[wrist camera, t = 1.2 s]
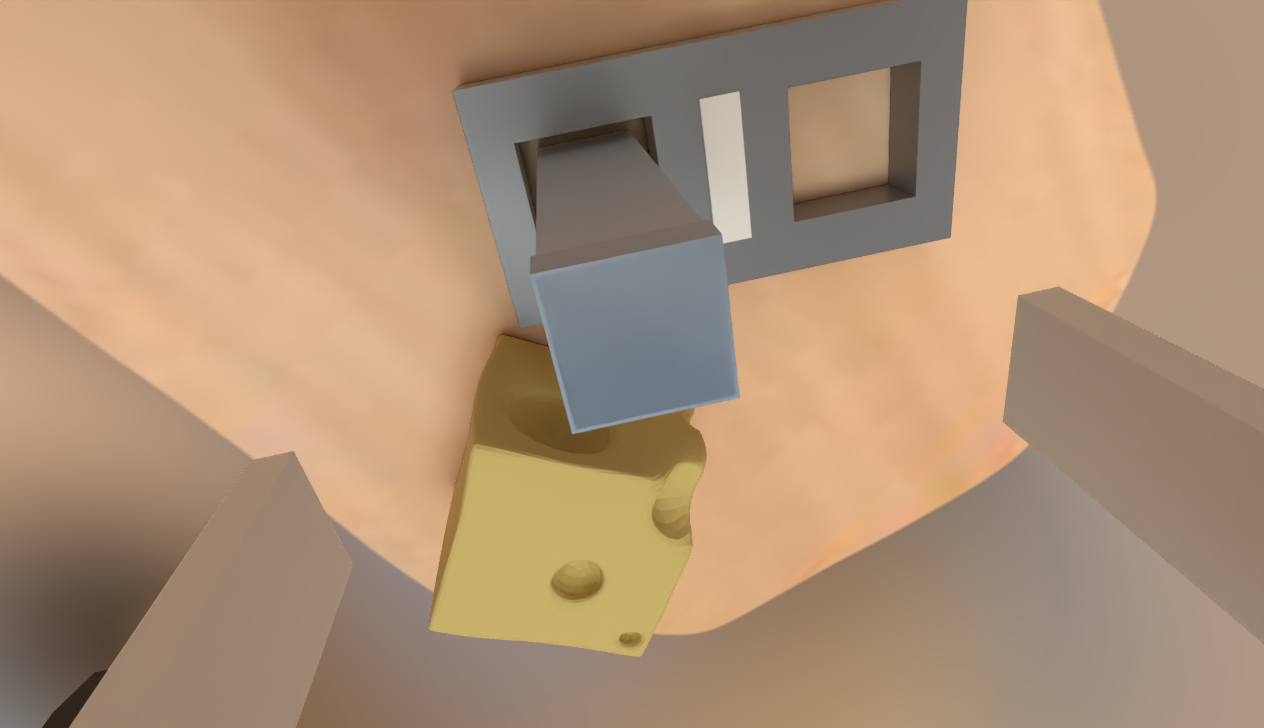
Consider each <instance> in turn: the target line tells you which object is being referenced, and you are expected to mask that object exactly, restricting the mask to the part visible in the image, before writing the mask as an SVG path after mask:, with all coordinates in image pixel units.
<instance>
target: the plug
mask: <svg viewBox="0 0 1264 728" xmlns="http://www.w3.org/2000/svg"><path fill="white" fill-rule="evenodd" d="M530 278H531V281H532V285H533V289H534V293H535V296H536V300H537V304H538V308H539V311H540V315H541V319H542V323H543V326H544V330H545V334H546V338H547V341H548V345H549V349H550V353H551V356H552V360H553V364H554V368H555V371H556V375H557V379H558V383H559V386H560V390H561V394H562V398H563V401H564V405H565V409H566V413H567V416H568V420H569V424H570V428H571V431H572V434H575V433H580V432H585V431H589V430H594V429H598V428H603V427H608V426H612V425H617V424H621V423H626V422H631V421H635V420H640V419H644V418H649V417H654V416H658V415H663V414H667V413H672V412H677V411H681V410H686V409H690V408H695V407H700V406H704V405H709V404H713V403H718V402H723V401H727V400H732V399H736V398H740V395H739V386H738V377H737V367H736V358H735V349H734V340H733V330H732V321H731V312H730V303H729V293H728V284H727V275H726V265H725V256H724V247H723V238H722V233H721V232H720V231H719V230H718V229H717V228H716V226H715V225H714V224H713V223H712V222H711V221H710V219H707V220H703V221H702V219H701V218H700V217H699V216H698V214H697V213H696V212H695V211H694V210H693V208H692V207H691V206H690V205H689V203H688V202H687V201H686V200H685V199H684V197H683V196H682V195H681V194H680V192H679V191H678V190H677V189H676V188H675V186H674V185H673V184H672V183H671V181H670V180H669V179H668V178H667V177H666V175H665V174H664V173H663V172H662V170H661V169H660V168H659V167H658V165H657V164H656V163H655V162H654V161H653V159H652V158H651V157H650V156H649V154H648V153H647V152H646V151H645V150H644V148H643V147H642V146H641V145H640V143H639V142H638V141H637V140H636V139H635V137H634V136H633V135H632V134H631V132H630V131H629V130H625V131H620V132H615V133H610V134H605V135H600V136H595V137H590V138H585V139H581V140H576V141H571V142H566V143H561V144H556V145H551V146H546V147H541V148H537V211H536V255H535V256H530Z"/></svg>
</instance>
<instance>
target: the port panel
mask: <svg viewBox="0 0 1264 728" xmlns="http://www.w3.org/2000/svg"><path fill="white" fill-rule="evenodd" d="M966 13H967V0H883V1H878V2H873V3H868V4H863V5H858V6H853V7H848V8H843V9H838V10H833V11H828V12H823V13H818V14H813V15H808V16H803V17H798V18H793V19H788V20H783V21H778V22H773V23H768V24H763V25H758V26H753V27H748V28H743V29H738V30H733V31H728V32H723V33H718V34H713V35H708V36H703V37H698V38H693V39H688V40H683V41H678V42H673V43H668V44H663V45H658V46H653V47H648V48H643V49H638V50H633V51H628V52H623V53H618V54H613V55H608V56H603V57H598V58H593V59H589V60H584V61H579V62H574V63H569V64H564V65H559V66H554V67H549V68H544V69H539V70H534V71H529V72H524V73H519V74H514V75H509V76H504V77H499V78H494V79H489V80H484V81H479V82H474V83H469V84H464V85H459V86H458V87H457V88H456V89H454V90H453V91H452V93H453V96H454V100H455V103H456V107H457V110H458V114H459V117H460V121H461V124H462V128H463V131H464V135H465V138H466V142H467V145H468V149H469V152H470V155H471V159H472V162H473V166H474V169H475V173H476V176H477V180H478V183H479V187H480V190H481V194H482V197H483V201H484V204H485V208H486V211H487V215H488V218H489V222H490V225H491V229H492V232H493V236H494V239H495V243H496V246H497V250H498V253H499V257H500V260H501V264H502V267H503V271H504V274H505V278H506V281H507V285H508V288H509V291H510V295H511V298H512V302H513V305H514V309H515V312H516V316H517V319H518V323H519V326H520V329H522V328H527V327H531V326H536V325H541V324H543V323H542V319H541V315H540V311H539V308H538V304H537V300H536V296H535V293H534V289H533V285H532V281H531V278H530V256H535V255H536V213H535V209H534V205H533V201H532V197H531V193H530V188H529V184H528V180H527V176H526V172H525V168H524V164H523V160H522V156H521V152H520V148H519V144H518V143H519V142H524V141H529V140H534V139H539V138H544V137H549V136H554V135H559V134H564V133H569V132H573V131H578V130H583V129H588V128H593V127H598V126H603V125H608V124H613V123H618V122H623V121H627V120H632V119H637V118H642V117H644V121H645V128H646V134H647V141H648V147H649V154H650V157H651V158H652V159H653V161H654V162H655V163H656V164H657V165H658V167H659V168H660V169H661V170H662V172H663V173H664V174H665V175H666V177H667V178H668V179H669V180H670V181H671V183H672V184H673V185H674V186H675V188H676V189H677V190H678V191H679V192H680V194H681V195H682V196H683V197H684V199H685V200H686V201H687V202H688V203H689V205H690V206H691V207H692V208H693V210H694V211H695V212H696V213H697V214H698V216H699V217H700V218H701V219H702V221H703V220H707V219H710V221H711V222H712V223H713V224H714V225H715V226H716V228H717V229H718V230H719V231H720V232H721V233H722V238H723V247H724V256H725V265H726V275H727V284H728V285H729V284H734V283H739V282H743V281H748V280H753V279H758V278H762V277H767V276H772V275H776V274H781V273H786V272H791V271H795V270H800V269H805V268H809V267H814V266H819V265H824V264H828V263H833V262H838V261H842V260H847V259H852V258H857V257H861V256H866V255H871V254H875V253H880V252H885V251H890V250H894V249H899V248H904V247H908V246H913V245H918V244H923V243H927V242H932V241H937V240H941V239H946V238H951V226H952V212H953V197H954V183H955V169H956V155H957V141H958V127H959V112H960V98H961V84H962V70H963V56H964V42H965V27H966ZM888 67H891V98H890V145H889V184H887V185H882V186H878V187H873V188H868V189H863V190H858V191H854V192H849V193H844V194H839V195H834V196H830V197H825V198H820V199H815V200H811V201H806V202H801V203H796V204H793V191H792V171H791V152H790V132H789V113H788V93H787V88H789V87H794V86H799V85H804V84H809V83H814V82H819V81H824V80H829V79H834V78H839V77H843V76H848V75H853V74H858V73H863V72H868V71H873V70H878V69H883V68H888Z"/></svg>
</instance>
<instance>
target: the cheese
mask: <svg viewBox="0 0 1264 728" xmlns="http://www.w3.org/2000/svg"><path fill="white" fill-rule="evenodd" d="M693 413H694V408H690V409H686V410H681V411H677V412H672V413H667V414H663V415H658V416H654V417H649V418H644V419H640V420H635V421H631V422H626V423H621V424H617V425H612V426H608V427H603V428H598V429H594V430H589V431H585V432H580V433H575V434H572V431H571V428H570V424H569V420H568V416H567V413H566V409H565V405H564V401H563V398H562V394H561V390H560V386H559V383H558V379H557V375H556V371H555V368H554V364H553V360H552V356H551V353H550V349H549V347H547V346H543V345H540V344H536V343H532V342H529V341H525V340H522V339H518V338H514V337H510V336H505V335H500V336H499V337H498V338H497V341H496V344H495V347H494V350H493V352H492V354H491V356H490V358H489V360H488V362H487V364H486V366H485V368H484V370H483V372H482V375H481V377H480V380H479V383H478V386H477V390H476V395H475V400H474V406H473V412H472V418H471V427H470V433H469V437H468V441H467V445H466V449H465V453H464V456H463V460H462V464H461V467H460V471H459V474H458V477H457V481H456V484H455V487H454V492H453V497H452V501H451V506H450V511H449V515H448V520H447V525H446V530H445V535H444V540H443V546H442V551H441V556H440V561H439V567H438V572H437V578H436V583H435V589H434V594H433V600H432V606H431V613H430V620H429V629H430V630H431V631H436V632H443V633H448V634H453V635H461V636H470V637H479V638H491V639H503V640H517V641H529V642H540V643H548V644H557V645H565V646H572V647H579V648H587V649H593V650H599V651H605V652H610V653H616V654H622V655H629V656H636V657H640V656H641V655H642V654H643V652H644V651H645V649H646V647H647V645H648V643H649V640H650V639H651V637H652V635H653V633H654V630H655V628H656V626H657V624H658V622H659V621H660V619H661V617H662V615H663V613H664V611H665V608H666V606H667V604H668V602H669V600H670V597H671V595H672V593H673V591H674V589H675V586H676V584H677V582H678V580H679V578H680V576H681V574H682V572H683V570H684V568H685V565H686V563H687V561H688V559H689V556H690V553H691V549H692V546H693V544H692V532H691V526H690V503H691V498H692V494H693V492H694V489H695V487H696V485H697V483H698V481H699V479H700V477H701V475H702V473H703V470H704V467H705V463H706V447H705V444H704V440H703V438H702V435H701V433H700V431H699V430H697V429H695V428H694V427H692V426H691V425H690V420H691V417H692V415H693Z"/></svg>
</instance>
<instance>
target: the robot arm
mask: <svg viewBox="0 0 1264 728" xmlns="http://www.w3.org/2000/svg"><path fill="white" fill-rule="evenodd" d="M1003 422H1004V423H1005V424H1006V425H1007V426H1008V427H1010V428H1011V429H1012V430H1013V431H1014V432H1015V433H1017V434H1018V435H1019V436H1020V437H1021V438H1023V439H1024V440H1025V441H1026V442H1027V443H1028V444H1030V445H1031V446H1032V447H1033V448H1034V449H1036V450H1037V451H1038V452H1039V453H1040V454H1041V455H1042V456H1044V457H1045V458H1046V459H1047V460H1048V461H1049V462H1051V463H1052V464H1053V465H1054V466H1055V467H1057V468H1058V469H1059V470H1060V471H1061V472H1062V473H1064V474H1065V475H1066V476H1067V477H1068V478H1069V479H1071V480H1072V481H1073V482H1074V483H1075V484H1077V485H1078V486H1079V487H1080V488H1081V489H1083V490H1084V491H1085V492H1086V493H1087V494H1088V495H1089V496H1091V497H1092V498H1093V499H1094V500H1095V501H1096V502H1098V503H1099V504H1100V505H1101V506H1103V508H1105V509H1106V510H1107V511H1108V512H1109V513H1111V514H1112V515H1113V516H1114V517H1115V518H1116V519H1118V520H1119V521H1120V522H1121V523H1122V524H1124V525H1125V526H1126V527H1127V528H1128V529H1129V530H1130V531H1132V532H1133V533H1134V534H1135V535H1136V536H1138V537H1139V538H1140V539H1141V540H1142V541H1143V542H1145V543H1146V544H1147V545H1148V546H1149V547H1151V548H1152V549H1153V550H1154V551H1155V552H1156V553H1158V554H1159V555H1160V556H1161V557H1162V558H1163V559H1165V560H1166V561H1167V562H1168V563H1169V564H1170V565H1172V566H1173V567H1174V568H1175V569H1176V570H1177V571H1179V572H1180V573H1181V574H1182V575H1183V576H1184V577H1186V578H1187V579H1188V580H1189V581H1190V582H1192V583H1193V584H1194V585H1195V586H1196V587H1197V588H1199V589H1200V590H1201V591H1202V592H1203V593H1205V594H1206V595H1207V596H1208V597H1209V598H1210V599H1212V600H1213V601H1214V602H1215V603H1216V604H1217V605H1219V606H1220V607H1221V608H1222V609H1223V610H1224V611H1226V612H1227V613H1228V614H1229V615H1230V616H1231V617H1233V618H1234V619H1235V620H1236V621H1237V622H1238V623H1240V624H1241V625H1242V626H1243V627H1244V628H1246V629H1247V630H1248V631H1249V632H1250V633H1251V634H1253V635H1254V636H1255V637H1256V638H1257V639H1258V640H1260V641H1261V642H1262V643H1263V644H1264V389H1263V388H1261V387H1259V386H1257V385H1255V384H1253V383H1251V382H1249V381H1247V380H1245V379H1243V378H1241V377H1239V376H1237V375H1235V374H1233V373H1231V372H1229V371H1227V370H1225V369H1223V368H1221V367H1219V366H1217V365H1215V364H1213V363H1211V362H1209V361H1207V360H1205V359H1203V358H1201V357H1199V356H1197V355H1195V354H1193V353H1191V352H1189V351H1187V350H1184V349H1183V348H1181V347H1179V346H1177V345H1175V344H1173V343H1171V342H1169V341H1167V340H1165V339H1163V338H1161V337H1158V336H1157V335H1154V334H1153V333H1151V332H1149V331H1147V330H1145V329H1143V328H1141V327H1139V326H1137V325H1135V324H1133V323H1131V322H1129V321H1127V320H1125V319H1123V318H1121V317H1119V316H1117V315H1115V314H1113V313H1111V312H1109V311H1107V310H1105V309H1103V308H1101V307H1099V306H1097V305H1095V304H1093V303H1091V302H1089V301H1087V300H1085V299H1083V298H1081V297H1079V296H1077V295H1075V294H1073V293H1071V292H1069V291H1066V290H1064V289H1062V288H1060V287H1056V288H1051V289H1046V290H1042V291H1037V292H1032V293H1028V294H1023V295H1018V301H1017V309H1016V317H1015V325H1014V334H1013V342H1012V350H1011V358H1010V366H1009V375H1008V383H1007V391H1006V399H1005V407H1004V416H1003ZM352 567H353V564H352V562H351V560H350V558H349V556H348V554H347V552H346V550H345V548H344V547H343V545H342V543H341V541H340V539H339V537H338V535H337V533H336V531H335V530H334V528H333V526H332V524H331V522H330V520H329V518H328V516H327V514H326V512H325V510H324V508H323V507H322V505H321V503H320V501H319V499H318V497H317V495H316V493H315V491H314V489H313V487H312V486H311V484H310V482H309V480H308V478H307V476H306V474H305V472H304V470H303V468H302V466H301V465H300V463H299V461H298V459H297V457H296V455H295V453H294V451H292V452H288V453H283V454H278V455H274V456H269V457H264V458H260V459H255V460H250V461H249V463H248V464H247V465H246V467H245V468H244V470H243V471H242V473H241V474H240V476H239V477H238V479H237V480H236V482H235V483H234V485H233V486H232V488H231V489H230V491H229V492H228V494H227V495H226V497H225V498H224V499H223V501H222V502H221V504H220V506H219V507H218V508H217V510H216V511H215V513H214V514H213V516H212V517H211V519H210V520H209V522H208V523H207V525H206V526H205V527H204V529H203V530H202V532H201V534H200V535H199V536H198V538H197V539H196V541H195V542H194V544H193V545H192V547H191V548H190V550H189V551H188V553H187V554H186V556H185V557H184V558H183V560H182V561H181V563H180V565H179V566H178V567H177V569H176V570H175V572H174V573H173V575H172V576H171V578H170V579H169V581H168V582H167V584H166V585H165V587H164V588H163V590H162V591H161V593H160V594H159V595H158V597H157V598H156V600H155V601H154V603H153V604H152V606H151V607H150V609H149V610H148V612H147V613H146V615H145V616H144V618H143V619H142V620H141V622H140V624H139V625H138V626H137V628H136V629H135V631H134V632H133V634H132V635H131V637H130V638H129V640H128V641H127V643H126V644H125V646H124V647H123V649H122V650H121V652H120V653H119V655H118V656H117V657H116V659H115V660H114V662H113V663H112V665H111V666H110V668H109V669H108V670H104V671H100V672H95V673H94V674H93V675H92V676H91V677H89V678H88V679H87V680H86V681H85V682H84V683H83V684H82V685H81V686H80V687H79V688H78V689H77V690H76V691H75V692H74V693H73V694H72V695H71V696H70V697H69V698H68V699H66V701H64V702H63V703H62V704H61V705H60V706H59V707H58V708H57V709H56V710H55V711H54V712H53V713H52V714H51V716H50V718H49V719H48V720H47V722H46V723H45V724H44V726H43V727H42V728H296V725H297V722H298V720H299V717H300V714H301V711H302V708H303V705H304V703H305V700H306V697H307V694H308V691H309V688H310V686H311V683H312V680H313V677H314V674H315V671H316V668H317V666H318V663H319V660H320V657H321V654H322V652H323V649H324V646H325V643H326V640H327V637H328V634H329V631H330V629H331V626H332V623H333V620H334V618H335V615H336V612H337V609H338V606H339V603H340V601H341V597H342V595H343V592H344V589H345V586H346V584H347V581H348V578H349V575H350V572H351V569H352Z"/></svg>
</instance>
